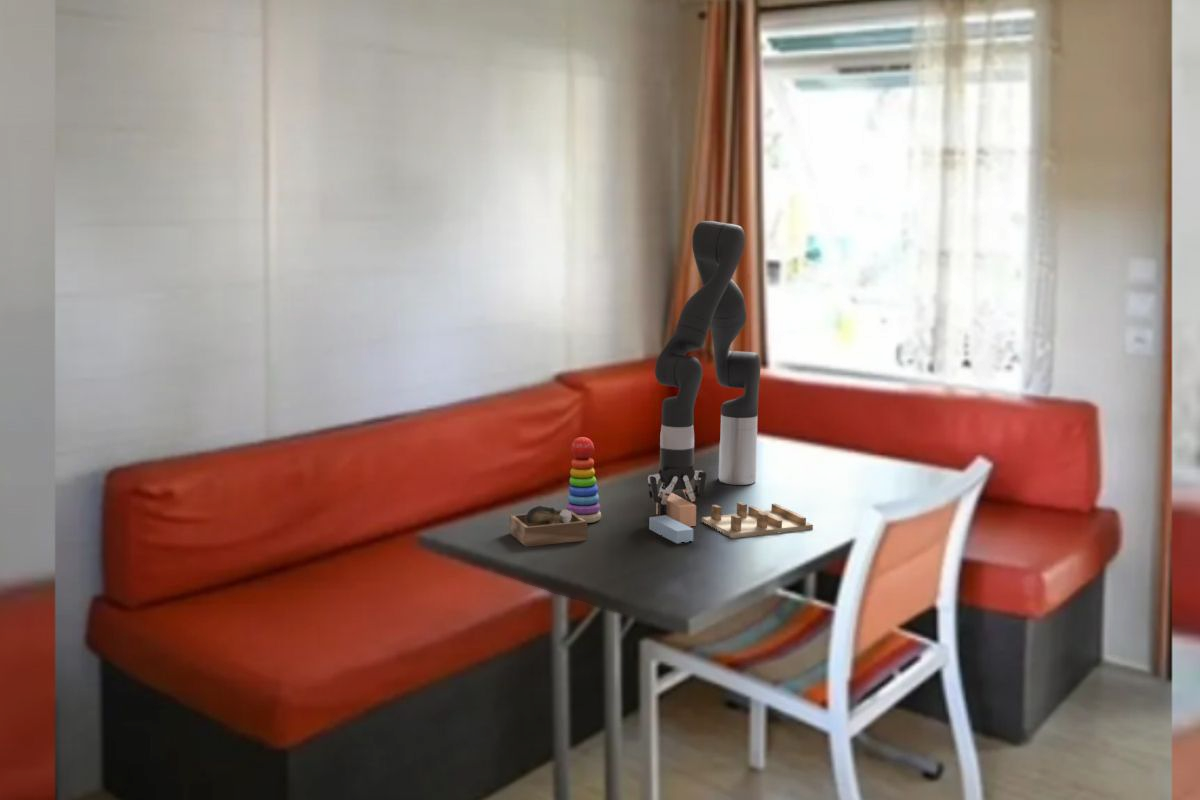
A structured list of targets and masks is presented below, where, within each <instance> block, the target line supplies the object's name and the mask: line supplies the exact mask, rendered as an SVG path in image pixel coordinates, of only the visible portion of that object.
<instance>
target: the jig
mask: <svg viewBox="0 0 1200 800" xmlns="http://www.w3.org/2000/svg"><path fill="white" fill-rule="evenodd" d="M722 509H723V508H722V506H720V505H718V504H711V512H710V513H711V516H703V517H701V523H703V522H704V523H703V524H705V523H706V524H705V525H707V524H708V525H710V526H711V527H710V526H709V527H710V528H712V527H713V528H712V529H714V528H715V529H714V530H716V529H717V530H716V531H717V532H719V531H720V533H721V532H722V533H721V534H723V535H725V536H727V537H728V536H729V537H728V538H730V539H736V538H737V539H738V538H740V539H741V538H746V537H747V538H748V537H756V536H757V535H758V536H765V534H766V535H772V534H771V533H775V534H779V533H778V532H784V533H789V532H788V531H793V532H799V531H798V530H802V531H807V530H808V531H809V529H811V530H813V529H814V524H812V523H810V522H808V521H807V518H806V516H803V515H801V514H798V513H797V512H794V511H793V510H790V509H789V508H786V507H784V506H781V505H780V504H778V503H771V509H770V510H769V509H768V510H762V509H760V508H757V507H756V506H753V505H749V506H748V504H747V503H745V502H742V501H739V502H736V513H729V514H723V515H722ZM708 525H707V526H708Z"/></svg>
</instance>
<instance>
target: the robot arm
mask: <svg viewBox="0 0 1200 800" xmlns="http://www.w3.org/2000/svg"><path fill="white" fill-rule="evenodd" d="M745 235H746V233H745V230H744V229H743V228H742V226H740V225H738V224H733V223H727V222H719V221H712V220H703V221H700V222H698V223H697V224H696V225H695V226H694V229H693V232H692V239H691V240H692V241H691V244H692V253H693V257H694V261H695V263H696V266H697V267H696V268H697V271H698V274H699V277H700V280H701V284H702V286H701V288H699V289H698V290H697V291H696V292H695V293H693V295H692V296H691V297H690V298H689V299H688V300H687V301H686V303H685V304H684V306H683V308H682V309H681V312H680V316H679V319H678V320H677V321H678V322H677V323H676V327H675V329H674V333H673V335H672V336H671V337H670V339H669V341H668V342H667V343H666V344H665V346H664V347H663V350H662V351H661V352H660V354H659V356H658V357H657V359H656V362H655V365H654V375H655V379H656V381H657V382H658V383H659V384H660V385H662V386H667V387H675V388H679V390H678V393H677V395H676V396H670V397H666V398H665V399H663V402H662V404H661V405H662V406H661V427H660V434H659V435H660V436H659V437H660V438H659V439H660V441H659V442H660V443H659V446H660V447H659V448H660V449H659V467H660V468H659V471H658V472H657V473H656V474H647V475H646V483H647V492H648V499H649V500H650V501H652V502H654V503H655V504H656V503H657V504H658V512H657V515H658V516H663V515H666V516H667V505H666V504H665V503H666V501H667V499H668V496H670V495H671V493H673V491H677V490H680V491H681V490H682V492H683V493H684V496H685V498H686V500H687V501H689V502H691V503H693V504H694V505H695V502H696V500H698V499H702V498H703V496H704V491H705V484H706V478H707V472H705V471H703V470H701V469H698V470H695V469H694V463H695V429H694V414H695V413H694V410H695V406H696V405H695V404H696V401H697V400H696V399H697V397H698V394H699V393H698V392H699V389H700V387H701V383H702V379H703V372H704V371H703V366H702V364H701V362H700V359H698V358H697V357H696V356H690V355H686V354H688V353H689V352H693V351H698V350H700V349H702V348H703V347H704V345H705V342H706V339H707V337H708V334H709V330H710V334H711V337H712V338H711V339H712V345H713V357H714V358H713V359H714V367H715V368H714V369H715V376H716V380H717V383H718V384H719V386H721V387H724V388H730V389H731V388H733V389H744V393H743V394H742V395H741V396H739V397H736V398H734V399H730V400H726V401H724V402H722V403H721V406H720V440H719V443H718V445H719V446H718V447H719V448H718V480H719V482H720V483H723V484H727V485H732V486H734V485H735V486H736V485H737V486H744V485H745V486H746V485H752V484H754V483H756V481H757V480H756V478H757V477H756V476H757V450H758V449H757V448H758V446H757V445H758V444H757V443H758V418H759V417H758V415H759V414H758V413H759V393H760V391H759V390H760V380H761V368H762V367H761V364H762V363H761V358H760V355H759V353H757V352H754V351H736V350H730V346H731V344H732V343H733V342H734V340H735V339H736V338H737V336H739V335H740V333H741V331H742V330H743V329H744V327H745V325H746V322H747V318H748V317H747V308H746V302H745V297H744V294H743V292H742V291H741V289H740V287H739V286H738V285H737V283H736V282H735V281H734V280H733V279H732V278H733V276H734V274H735V271H736V269H737V267H738V266H739V263H740V261H741V258H742V256H743V253H744V249H745V243H746V236H745ZM693 479H694V487H693V486H692V485H691V482H692V480H693ZM659 480H660V481H661V482H662V483H661V485H660V487H659V490H658V484H659ZM666 488H667V489H666ZM658 491H659V492H658ZM657 515H656V516H657Z"/></svg>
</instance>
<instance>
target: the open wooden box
mask: <svg viewBox="0 0 1200 800" xmlns="http://www.w3.org/2000/svg"><path fill="white" fill-rule="evenodd" d="M562 510H563V509H560V510H557V515H559V514H560V512H561V511H562ZM568 511H570V512H571V514H572V518H571V520H570V522H569V523H559V524H549V525H545V524H546V523H528V522H527V520H526V519H525V517H526V516H527V513H520V514H519V513H518V514H510V515H509V534H510V535H511V536H512V537H514V538H515V539H516V540H517V541H518V542H519V543H521V544H522V545H523V546H524V547H527V548H529V547H536V546H538V547H539V546H544V545H545V546H546V545H554V544H555V545H556V544H563V543H571V542H572V543H574V542H583V541H588V523H587V521H585V520H584V519H583V518H581V517H580V516H578V515H577V514H575V513H574V512H572V511H571V510H568Z"/></svg>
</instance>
